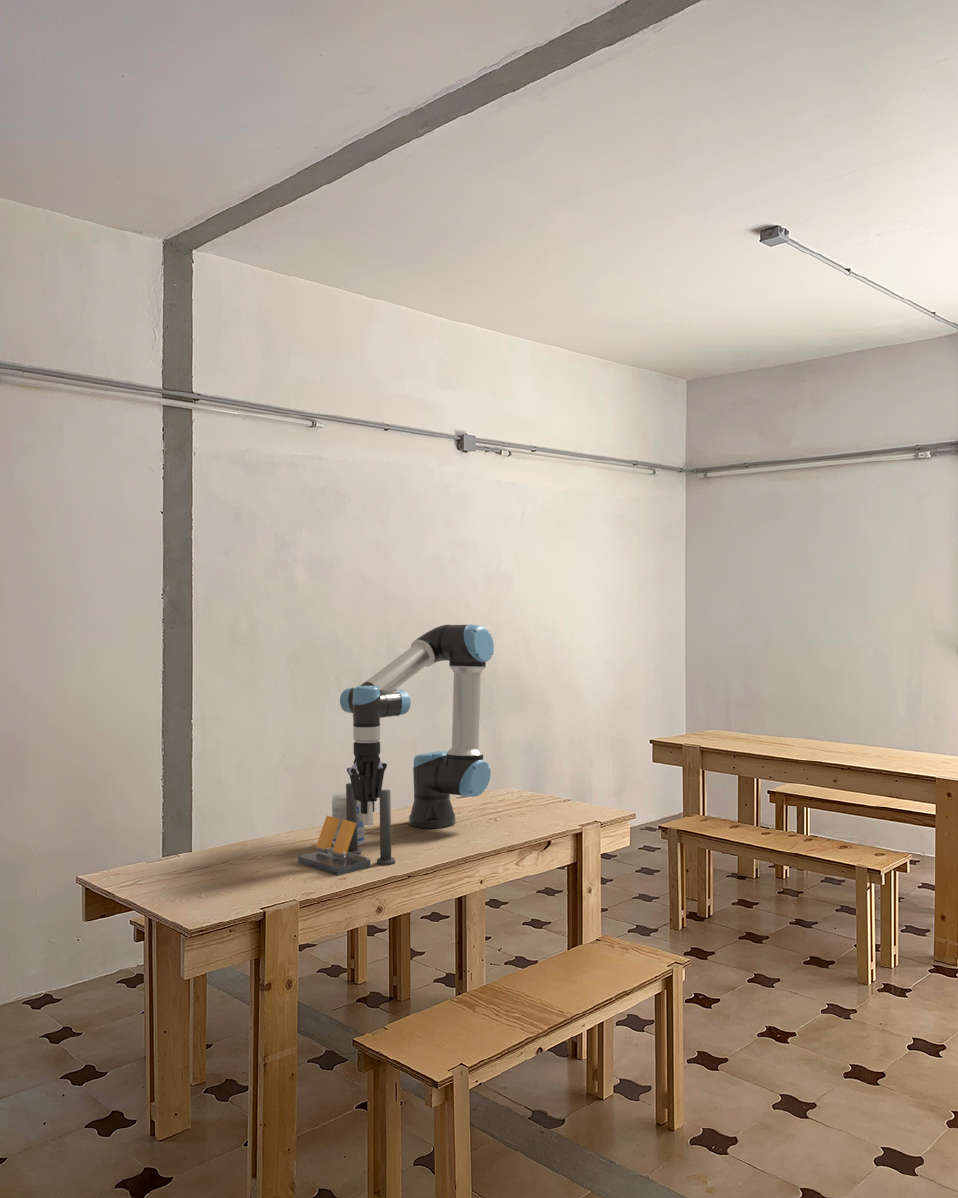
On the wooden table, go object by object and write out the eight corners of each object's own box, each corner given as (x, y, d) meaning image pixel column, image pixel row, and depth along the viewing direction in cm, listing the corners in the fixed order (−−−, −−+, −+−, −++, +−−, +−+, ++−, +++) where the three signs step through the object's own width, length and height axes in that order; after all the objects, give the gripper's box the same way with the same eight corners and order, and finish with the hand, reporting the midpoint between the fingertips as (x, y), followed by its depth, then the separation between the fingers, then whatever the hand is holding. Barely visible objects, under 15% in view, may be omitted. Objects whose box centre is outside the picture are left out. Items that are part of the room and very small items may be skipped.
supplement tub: (351, 850, 283) (350, 799, 283) (325, 846, 288) (325, 796, 288) (371, 842, 291) (370, 793, 292) (345, 839, 296) (345, 791, 296)
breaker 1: (335, 856, 268) (347, 821, 271) (345, 858, 265) (357, 823, 268) (330, 854, 267) (342, 819, 270) (340, 857, 264) (352, 821, 267)
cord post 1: (353, 850, 282) (352, 781, 282) (364, 853, 279) (363, 783, 279) (340, 853, 279) (338, 784, 279) (350, 856, 275) (349, 786, 275)
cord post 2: (387, 859, 272) (386, 788, 272) (398, 862, 268) (397, 790, 268) (373, 863, 268) (372, 790, 268) (384, 866, 265) (383, 793, 265)
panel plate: (330, 855, 277) (330, 846, 277) (370, 867, 264) (370, 857, 264) (298, 863, 269) (298, 854, 269) (338, 875, 256) (337, 865, 256)
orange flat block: (319, 851, 273) (330, 817, 276) (328, 854, 270) (340, 819, 273) (314, 850, 272) (326, 815, 275) (324, 852, 269) (335, 817, 272)
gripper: (376, 737, 281) (377, 818, 281) (340, 742, 271) (341, 826, 271) (393, 739, 275) (394, 822, 275) (356, 744, 266) (357, 830, 266)
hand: (367, 824), depth 273 cm, fingers closed
